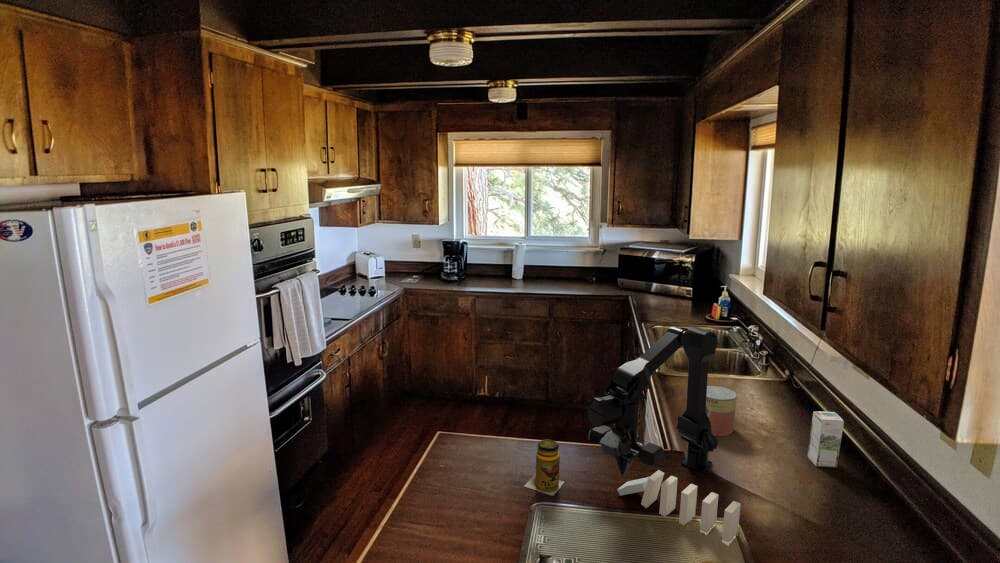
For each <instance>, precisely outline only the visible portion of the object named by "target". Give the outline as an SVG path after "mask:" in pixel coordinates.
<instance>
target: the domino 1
mask: <svg viewBox="0 0 1000 563" xmlns="http://www.w3.org/2000/svg"><path fill="white" fill-rule="evenodd" d="M649 477H650V476H647V477H642V478H638V479H632V480H628V481H626V482H625V483H624V484H622V485H621V486H619V487H618V488H617V492H618V494H619V496H620V497H621V496H625V495H630V494H635V493H642V492H645V488H646V485H647V482H648V478H649Z"/></svg>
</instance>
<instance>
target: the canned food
mask: <svg viewBox="0 0 1000 563" xmlns="http://www.w3.org/2000/svg"><path fill="white" fill-rule="evenodd" d="M737 396H738V394H737V393H736V391H734V390H732V389H730V388H728V387H724V386H718V385H707V395H706V414H707V416H708V418H709V420H710V422H711V432H712V434H713V435H714V436H717V435H719V436H721V437H725V435H726V436H730V435H731V433H732V432H734V426H735V424H734V423H735V416H736V415H735V414H736V413H735V412H736V403H737ZM729 434H730V435H729ZM732 434H733V433H732ZM722 435H724V436H722ZM719 436H718V437H719Z"/></svg>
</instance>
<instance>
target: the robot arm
mask: <svg viewBox="0 0 1000 563" xmlns="http://www.w3.org/2000/svg"><path fill="white" fill-rule="evenodd" d="M717 345H718V337H717V335H716V334H715V332H713V331H711V330H707V329H704V328H702V327H697V326H695V325H693V326H689V327H688V328H685V327H681V326H680V327H678V326H670V327H668V328H667V330H666V332H665V333H664V335H662V336H661V337H660V338H659V339H658V340H656V341H655V342H654V343H653V345H651V346H650V347H649V348H648V349H647V350H646V351H645V352H644V353H642V354H641V355H640V356H639V357H638V358H636V359H634V360H631V361H626V362H625V363H624V364H622V365H621V366H619V367H617V368H616V370H614V372H613V375H612V376H611V378H610V380H609V381H608V383H607V385H606V387H605V388H604V389H603V394H604V395H606V396H603V397H598V396H597V397H594V399H593V402H592V403H590V404H589V407H588V408H587V417H588V420H589V421H590V423H591V424H592V426H594V428H591V429H590V430H589V432H588V441H590V442H593V444H600V448H601V449H600V450H601V453H603V454H606V455H609V456H611V457H613V458H615V460H616V463H617V466H618V468H619V472H620V474H621V475H622V476H626V474H627V473H628V471H629V469H630V467H631V465H632V463H633V462H634V460H635V459H636V458H638V460H639V461H640V462H642V463H644V464H646V465H649V466H654V465H655V464H657V463H659V462H660V461H661V460H663V459H664V458H665V450H664V448H663V447H662V446H660V445H658V444H655V443H652V442H648V443H646V444H645V445H643V443H641V442H638V441H639V440H641V436H640V435H638V434H639V432H638V431H639V426H641V425H642V421H641V420H639V418H640V417H639V416H640V415H639V414H640V402H641V401H644V400H646V399H647V396H646V395H645V394H644V393H643V391H644V390H645V389H646V388H647V387H648V385H649V384H650V382H651V378H652V375H653V374H654V372H655V371H657V370H658V369H659V368H660V367H661V366H662V365H663V364H664V363H665V362H667V360H668V359H669V358H671V357H672V356H673V355H674V354H675V353H676V352H677V351H679V349H680V348H681V347H682V346H683V347H682V348H683V351H684V354H685V356H686V357H687V359H688V365H687V368H688V369H687V371H688V372H687V386H686V387H687V388H686V391H687V392H686V407H685V408H686V409H685V411H684V412H683V413H681V414H679V415H678V416H677V426H676V429H677V431H678V433H679V435H680V439H681V440H682V441H684V442H686V443H687V444H686V445H687V448H686V458H684V459H683V460H682V461H681V463H680V464H681V465H683V466H686V467H689V468H690V469H694V470H696V471H699V472H701V473H704V472H705V471H706V470H707V469H709V468H710V467H711V466H712V465H713V462H712V461H711V460H709V456H710V455H709V453H710V452H711V453H712V452H714V450H715V449H717V447H718V445H719V440H718V439H717V437H716V436H715V435H713V434H712V432H711V422H710V420H709V418H708V416H707V414H706V395H707V386H708V375H709V373H708V372H709V362H710V360H712V358H713V357H714V356H715V354H716V351H717V350H716V349H717ZM617 389H618V390H621V391H622V392H624V393H622V392H620V391H618V390H617ZM607 425H610V427H609V426H607Z"/></svg>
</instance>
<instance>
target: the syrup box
mask: <svg viewBox="0 0 1000 563" xmlns="http://www.w3.org/2000/svg"><path fill="white" fill-rule="evenodd" d="M844 424H845V421H844V419H843V418H842V417H841V416H840V415H839V414H838V413H836V412H835V411H823V410H822V411H819V410H818V411H817V410H815V411H813V412H812V419H811V428H810V432H809V433H810V435H809V442H808V447H807V458H808V459H809V460H810V461H811V463H812V464H814V466H815V467H820V468H823V467H824V468H838V462H839V456H840V451H841V450H840V449H841V443H842V437H843V430H844Z"/></svg>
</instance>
